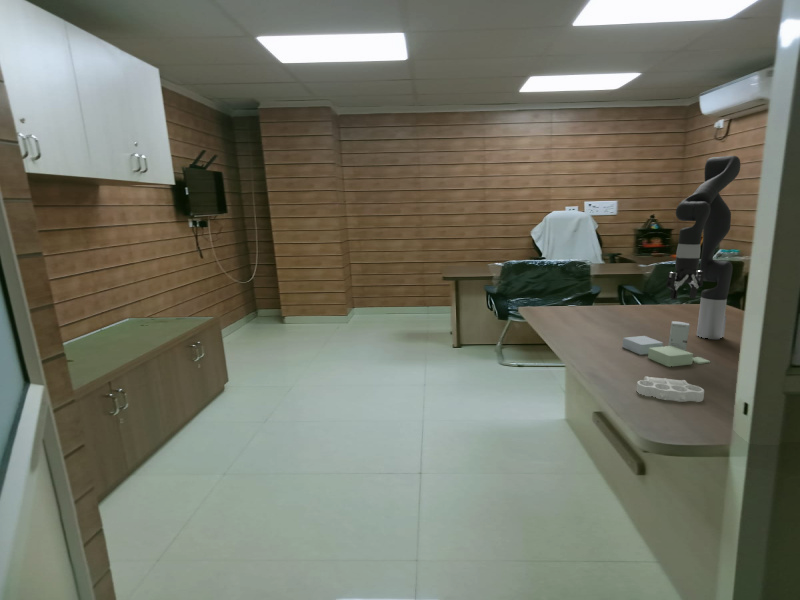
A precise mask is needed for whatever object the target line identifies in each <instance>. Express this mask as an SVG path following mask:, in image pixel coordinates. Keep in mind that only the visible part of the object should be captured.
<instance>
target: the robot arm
mask: <svg viewBox="0 0 800 600" xmlns="http://www.w3.org/2000/svg"><path fill="white" fill-rule="evenodd" d="M740 171H741V160H740V158H739V157H738V156H736V155H725V156H724V155H723V156H713V157H709V158H708V159H707V160H706V162H705V165H704V182H703V183H702V184H700V185H699V186H698V187H697V188H696V190H695V191H694V192H693V194H691V195H690V196H687V197H686V198H685V199H683V200H682V201H680V202H679V204H678V206H677V207H676V208H675V209H676V210H675V216H676V218H677V219H678V220H679V221H682V222H694V223H693V225H692V226H689V227H683V228H680V230H679V233H678V236H679V237H678V244H677V246H676V247H677V249H676V253H675V254H676V255H675V264H674V265H675V266H674V267H675V269H676V270H675V272H672V271H669V272H668V273H667V280H666V285H665V287H666V289H667V288H668V289H670V295H669V297H670V299H671V300H675V301H677V299H678V295H679V294H678V292H679V290H678V289H679V288H680V287H682V286H683V285H684V284H688V285H689V286H690V289H689V295H688V296H689V298H690V299H696V297H697V295H698V289H699V288H700V287H703V286H704V282H711V283H717V284H716V286H715V287H712V288H708V289H703V290H702V291H701V294H700V295H701V296H700V303H699V304H700V305H699V312H698V319H697V329H696V336H697V337H698V336H699V337H698V338H701V337H702V339H705V338H708V339H707V340H721V339H720V338H722V337H724V338H725V332H726V331H725V330H726V323H727V315H726V309H727V302H728V301H727V300H728V295H729V291H730V287H731V286H730V285H731V282H732V281H731V280H732V275H733V264H732V263H731V261H728V260H718V259H714V253H715V250H716V249H717V247H718V245H719V244H720V243H721V242H722V241H723V240H724V239H725V237H726V236H727V235H728V233H729V231H730V230H731V224H732V223H731V221H732V211H731V210H730V208H729V206H728V204H727V203H726V202H725V201H724V199H723V198H722V197H721V194H720V192H722V191H723V190H724V189H725V188H726V187H727V186H728V185H730V183H732V182H733V181H734V180H736V178H737V177H738V175H739V173H740ZM702 236H703V237H702ZM701 241H702V249H701ZM701 250H702V251H701ZM698 269H699V270H698ZM722 339H723V338H722Z"/></svg>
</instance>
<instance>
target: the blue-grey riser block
mask: <svg viewBox="0 0 800 600" xmlns="http://www.w3.org/2000/svg"><path fill="white" fill-rule="evenodd" d="M663 346H664V342H662V341H659V340H657V339H655V338H652V337H649V336H647V335H639V336H638V335H637V336H629V337H627V336H626V337H622V348H624V349H626V350H628V351H631V352H633V353H635V354H637V355H640V356H642V355H648V353H649V348H653V347H663Z"/></svg>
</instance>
